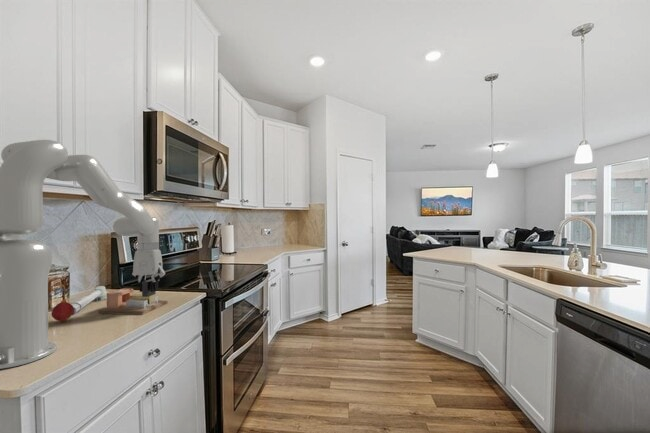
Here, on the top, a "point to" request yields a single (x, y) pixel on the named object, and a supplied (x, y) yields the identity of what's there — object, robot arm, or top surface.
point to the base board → (132, 309)
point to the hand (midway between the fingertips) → (148, 290)
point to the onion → (62, 311)
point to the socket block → (119, 297)
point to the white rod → (90, 298)
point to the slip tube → (145, 292)
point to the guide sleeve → (140, 303)
